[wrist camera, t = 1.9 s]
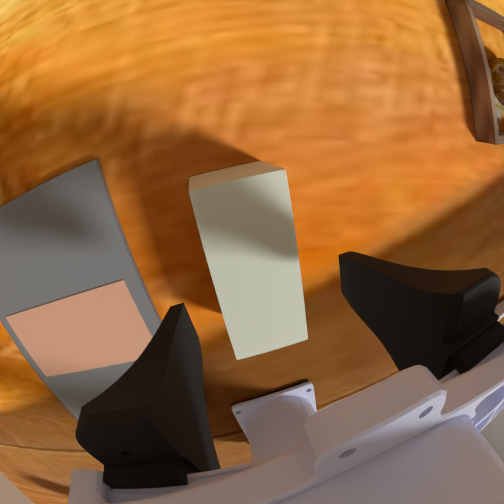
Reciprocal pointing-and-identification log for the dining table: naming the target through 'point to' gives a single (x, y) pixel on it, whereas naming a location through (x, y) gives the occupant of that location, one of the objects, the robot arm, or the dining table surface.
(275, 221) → the block
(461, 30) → the fruit rim
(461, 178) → the dining table surface
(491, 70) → the fruit
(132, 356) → the mat
